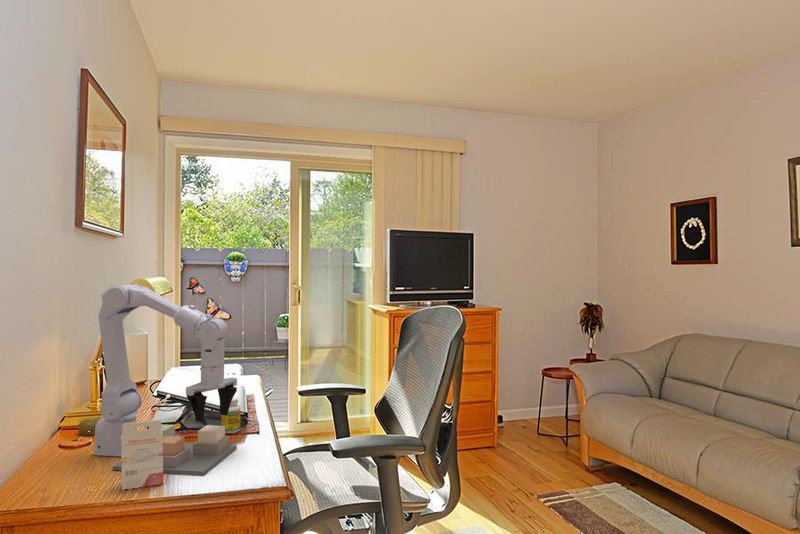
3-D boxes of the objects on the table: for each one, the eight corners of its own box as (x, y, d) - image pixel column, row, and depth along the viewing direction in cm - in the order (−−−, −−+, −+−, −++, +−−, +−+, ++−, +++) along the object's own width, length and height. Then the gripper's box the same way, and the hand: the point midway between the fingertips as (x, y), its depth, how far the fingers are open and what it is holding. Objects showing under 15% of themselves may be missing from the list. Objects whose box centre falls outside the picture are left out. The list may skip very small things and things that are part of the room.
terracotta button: (154, 456, 136) (154, 442, 136) (165, 449, 141) (165, 435, 141) (174, 457, 135) (174, 443, 135) (184, 450, 140) (184, 436, 140)
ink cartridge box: (162, 477, 131) (163, 414, 131) (163, 485, 127) (163, 420, 127) (121, 482, 128) (122, 418, 128) (120, 491, 123) (120, 424, 123)
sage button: (146, 443, 146) (146, 429, 145) (157, 437, 151) (157, 424, 150) (164, 444, 145) (164, 430, 145) (174, 438, 150) (174, 425, 150)
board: (112, 470, 135) (112, 455, 135) (156, 444, 154) (156, 431, 154) (203, 475, 132) (203, 460, 132) (236, 448, 151) (236, 435, 151)
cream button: (197, 444, 145) (197, 430, 145) (206, 438, 150) (206, 425, 150) (216, 445, 144) (216, 431, 144) (224, 439, 149) (224, 426, 149)
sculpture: (102, 422, 161) (72, 423, 160) (102, 436, 161) (72, 437, 160) (113, 415, 168) (84, 415, 168) (113, 428, 169) (84, 429, 168)
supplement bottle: (234, 427, 170) (235, 395, 170) (243, 431, 166) (243, 399, 166) (218, 431, 166) (218, 398, 166) (226, 435, 163) (226, 402, 162)
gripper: (198, 371, 137) (197, 427, 137) (245, 363, 149) (244, 414, 149) (180, 368, 141) (180, 422, 141) (227, 360, 153) (226, 409, 153)
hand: (212, 417), depth 146 cm, fingers open, 7 cm apart
